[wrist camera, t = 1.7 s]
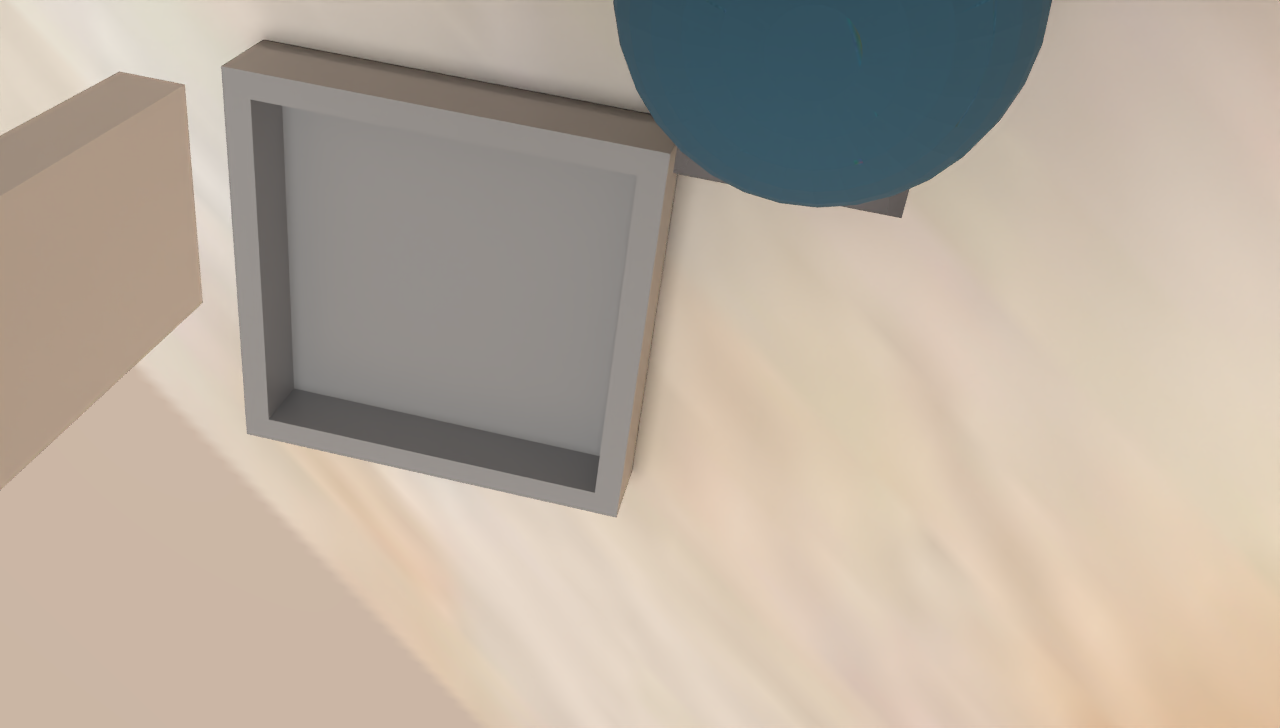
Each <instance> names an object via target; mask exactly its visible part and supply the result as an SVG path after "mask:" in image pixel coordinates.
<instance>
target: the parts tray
mask: <svg viewBox="0 0 1280 728" xmlns="http://www.w3.org/2000/svg"><path fill="white" fill-rule="evenodd" d="M221 69H222V83H223V98H224V112H225V126H226V141H227V155H228V169H229V183H230V198H231V212H232V226H233V241H234V255H235V269H236V283H237V298H238V312H239V326H240V340H241V355H242V369H243V383H244V398H245V412H246V426H247V434H250V435H254V436H259V437H263V438H268V439H272V440H277V441H281V442H285V443H290V444H294V445H299V446H303V447H307V448H312V449H316V450H321V451H325V452H330V453H334V454H338V455H343V456H347V457H352V458H356V459H360V460H365V461H369V462H374V463H378V464H383V465H387V466H391V467H396V468H400V469H405V470H409V471H413V472H418V473H422V474H427V475H431V476H436V477H440V478H444V479H449V480H453V481H458V482H462V483H466V484H471V485H475V486H480V487H484V488H489V489H493V490H497V491H502V492H506V493H511V494H515V495H519V496H524V497H528V498H533V499H537V500H542V501H546V502H550V503H555V504H559V505H564V506H568V507H572V508H577V509H581V510H586V511H590V512H595V513H599V514H603V515H608V516H612V517H617V514H618V511H619V508H620V505H621V502H622V499H623V496H624V493H625V490H626V487H627V485H628V482H629V479H630V476H631V473H632V467H633V461H634V454H635V448H636V441H637V435H638V428H639V422H640V415H641V409H642V402H643V396H644V389H645V383H646V376H647V370H648V363H649V357H650V350H651V344H652V337H653V331H654V324H655V317H656V311H657V304H658V298H659V291H660V285H661V278H662V272H663V265H664V259H665V252H666V246H667V239H668V233H669V226H670V220H671V213H672V207H673V200H674V194H675V187H676V181H677V174H675V173H673V170H674V163H675V157H676V150H677V146H676V145H675V144H674V143H673V142H672V140H671V139H670V138H669V137H668V136H667V135H666V134H665V133H664V131H663V130H662V129H661V128H660V127H659V126H658V125H657V123H656V122H655V120H654V119H653V117H652V115H651V114H646V113H641V112H636V111H630V110H625V109H620V108H615V107H610V106H604V105H599V104H594V103H589V102H584V101H578V100H573V99H568V98H563V97H558V96H552V95H547V94H542V93H537V92H532V91H526V90H521V89H516V88H511V87H506V86H500V85H495V84H490V83H485V82H480V81H474V80H469V79H464V78H459V77H454V76H448V75H443V74H438V73H433V72H428V71H422V70H417V69H412V68H407V67H402V66H396V65H391V64H386V63H381V62H376V61H370V60H365V59H360V58H355V57H350V56H344V55H339V54H334V53H329V52H324V51H318V50H313V49H308V48H303V47H298V46H292V45H287V44H282V43H277V42H272V41H266V40H262V41H260V42H259V43H257V44H256V45H254V46H252V47H251V48H249V49H248V50H246V51H245V52H243V53H241V54H240V55H238V56H237V57H235V58H233V59H232V60H230V61H229V62H227V63H226V64H224V65H222V66H221Z"/></svg>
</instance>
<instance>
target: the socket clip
mask: <svg viewBox="0 0 1280 728" xmlns="http://www.w3.org/2000/svg"><path fill="white" fill-rule="evenodd" d="M673 173H675V174H680V175H685V176H691V177H696V178H701V179H706V180H711V181H716V182H721V183H726V182H724V181H722V180H720V179H718V178H716V177H714V176H712V175H711V174H709V173H708V172H707V171H706V170H704V169H703V168H702V167H700V166H699V165H698V164H697V163H695V162H694V161H693V160H691V159H690V158H689V157H688V156H686V155H685V154H684V153H682V152H681V151H680V150H679V148H678V147H677V150H676V157H675V163H674V170H673ZM726 184H728V183H726ZM908 192H909V189H908V190H905V191H903V192H901V193H899V194H896V195H894V196H890V197H886V198H882V199H878V200H874V201H870V202H866V203H862V204H858V205H848V206H843V207H848V208H853V209H858V210H863V211H868V212H873V213H879V214H884V215H889V216H894V217H899V218H902V214H903V210H904V207H905V203H906V199H907V196H908Z"/></svg>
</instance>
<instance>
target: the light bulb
mask: <svg viewBox="0 0 1280 728" xmlns="http://www.w3.org/2000/svg"><path fill="white" fill-rule="evenodd" d="M1051 2H1052V0H614V1H613V4H614V10H615V16H616V22H617V29H618V35H619V41H620V45H621V48H622V51H623V54H624V57H625V60H626V62H627V65H628V68H629V71H630V73H631V76H632V79H633V82H634V84H635V87H636V90H637V92H638V93H639V95H640V97H641V98H642V100H643V102H644V103H645V105H646V107H647V108H648V110H649V112H650V114H651V115H652V117H653V119H654V120H655V122H656V123H657V125H658V126H659V127H660V128H661V129H662V130H663V131H664V133H665V134H666V135H667V136H668V137H669V138H670V139H671V140H672V142H673V143H674V144H675V145H676V146H677V147H678V148H679V150H680V151H681V152H682V153H684V154H685V155H686V156H688V157H689V158H690V159H691V160H693V161H694V162H695V163H697V164H698V165H699V166H700V167H702V168H703V169H704V170H706V171H707V172H708V173H709V174H711V175H712V176H714V177H716V178H718V179H720V180H722V181H724V182H726V183H728V184H730V185H732V186H734V187H736V188H737V189H739V190H741V191H743V192H746V193H749V194H752V195H756V196H759V197H762V198H766V199H769V200H772V201H775V202H779V203H785V204H793V205H802V206H810V207H832V206H848V205H858V204H862V203H866V202H870V201H874V200H878V199H882V198H886V197H890V196H894V195H896V194H899V193H901V192H903V191H905V190H908V189H910V188H912V187H914V186H917V185H919V184H921V183H923V182H925V181H928V180H930V179H931V178H933V177H934V176H936V175H937V174H939V173H940V172H942V171H943V170H944V169H946V168H947V167H949V166H950V165H952V164H953V163H955V162H956V161H958V160H959V159H961V158H962V157H963V156H964V155H965V154H966V153H967V152H969V151H970V150H971V149H972V148H973V147H974V146H975V145H976V144H977V143H978V142H979V141H980V140H981V139H982V138H983V137H984V136H985V135H986V134H987V133H988V132H989V131H990V130H991V129H992V128H993V127H994V126H995V125H996V124H997V123H998V122H999V121H1000V119H1001V118H1002V117H1003V115H1004V114H1005V112H1006V111H1007V109H1008V108H1009V106H1010V105H1011V103H1012V102H1013V100H1014V99H1015V98H1016V96H1017V95H1018V93H1019V92H1020V90H1021V89H1022V87H1023V86H1024V84H1025V82H1026V80H1027V78H1028V75H1029V73H1030V71H1031V69H1032V66H1033V64H1034V62H1035V59H1036V57H1037V55H1038V53H1039V50H1040V48H1041V46H1042V43H1043V38H1044V34H1045V29H1046V25H1047V20H1048V16H1049V11H1050V7H1051Z"/></svg>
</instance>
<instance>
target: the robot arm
mask: <svg viewBox="0 0 1280 728" xmlns="http://www.w3.org/2000/svg"><path fill="white" fill-rule="evenodd" d="M202 303H203V300H202V288H201V276H200V264H199V252H198V240H197V228H196V215H195V203H194V191H193V179H192V167H191V155H190V143H189V131H188V119H187V106H186V94H185V85H184V84H179V83H174V82H169V81H164V80H159V79H154V78H149V77H144V76H139V75H134V74H129V73H124V72H118V73H116V74H114V75H112V76H110V77H109V78H107V79H105V80H103V81H101V82H99V83H97V84H96V85H94V86H92V87H90V88H88V89H86V90H84V91H83V92H81V93H79V94H77V95H75V96H73V97H71V98H70V99H68V100H66V101H64V102H62V103H60V104H58V105H57V106H55V107H53V108H51V109H49V110H47V111H45V112H44V113H42V114H40V115H38V116H36V117H34V118H32V119H30V120H29V121H27V122H25V123H23V124H21V125H19V126H17V127H16V128H14V129H12V130H10V131H8V132H6V133H4V134H3V135H1V136H0V490H1V489H2V488H3V487H4V486H5V485H7V483H9V482H10V481H11V480H12V479H13V478H14V477H15V476H16V475H17V474H18V473H19V472H21V471H22V470H23V469H24V468H25V467H26V466H27V465H28V464H29V463H30V462H31V461H32V460H33V459H35V458H36V457H37V456H38V455H39V454H40V453H41V452H42V451H43V450H44V449H45V448H46V447H48V445H50V444H51V443H52V442H53V441H54V440H55V439H56V438H57V437H58V436H59V435H60V434H62V433H63V432H64V431H65V430H66V429H67V428H68V427H69V426H70V425H71V424H72V423H73V422H74V421H76V420H77V419H78V418H79V417H80V416H81V415H82V414H83V413H84V412H85V411H86V410H87V409H88V408H89V407H91V406H92V405H93V404H94V403H95V402H96V401H97V400H98V399H99V398H100V397H101V396H103V395H104V394H105V393H106V392H107V391H108V390H109V389H110V388H111V387H112V386H113V385H114V384H115V383H117V382H118V380H120V379H121V378H122V377H123V376H124V375H125V374H126V373H127V372H128V371H129V370H131V369H132V368H133V367H134V366H135V365H136V364H137V363H138V362H139V361H140V360H141V359H142V358H144V357H145V356H146V355H147V354H148V353H149V352H150V351H151V350H152V349H153V348H154V347H155V346H156V345H158V344H159V343H160V342H161V341H162V340H163V339H164V338H165V337H166V336H167V335H168V334H169V333H170V332H172V331H173V330H174V329H175V328H176V327H177V326H178V325H179V324H180V323H181V322H182V321H183V320H184V319H186V318H187V317H188V316H189V315H190V314H191V313H192V312H193V311H194V310H195V309H196V308H197V307H199V306H200V305H201V304H202Z"/></svg>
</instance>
